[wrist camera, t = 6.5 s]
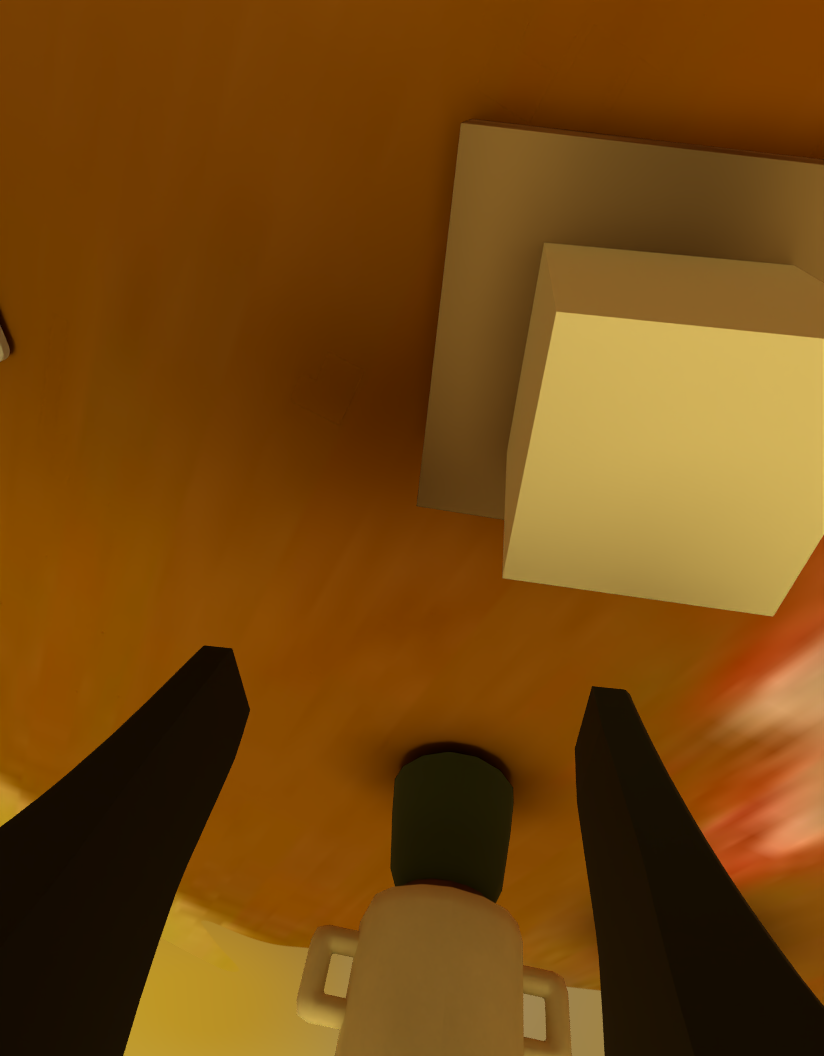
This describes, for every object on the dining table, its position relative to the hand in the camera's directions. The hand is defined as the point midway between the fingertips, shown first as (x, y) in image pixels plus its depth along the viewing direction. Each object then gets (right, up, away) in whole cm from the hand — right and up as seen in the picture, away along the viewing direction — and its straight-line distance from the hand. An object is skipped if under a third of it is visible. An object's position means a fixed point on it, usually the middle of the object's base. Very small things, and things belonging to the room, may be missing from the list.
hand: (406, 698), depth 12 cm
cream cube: (+5, +7, +2) cm, 9 cm away
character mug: (+2, -10, +19) cm, 22 cm away
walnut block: (+6, +9, +5) cm, 12 cm away
